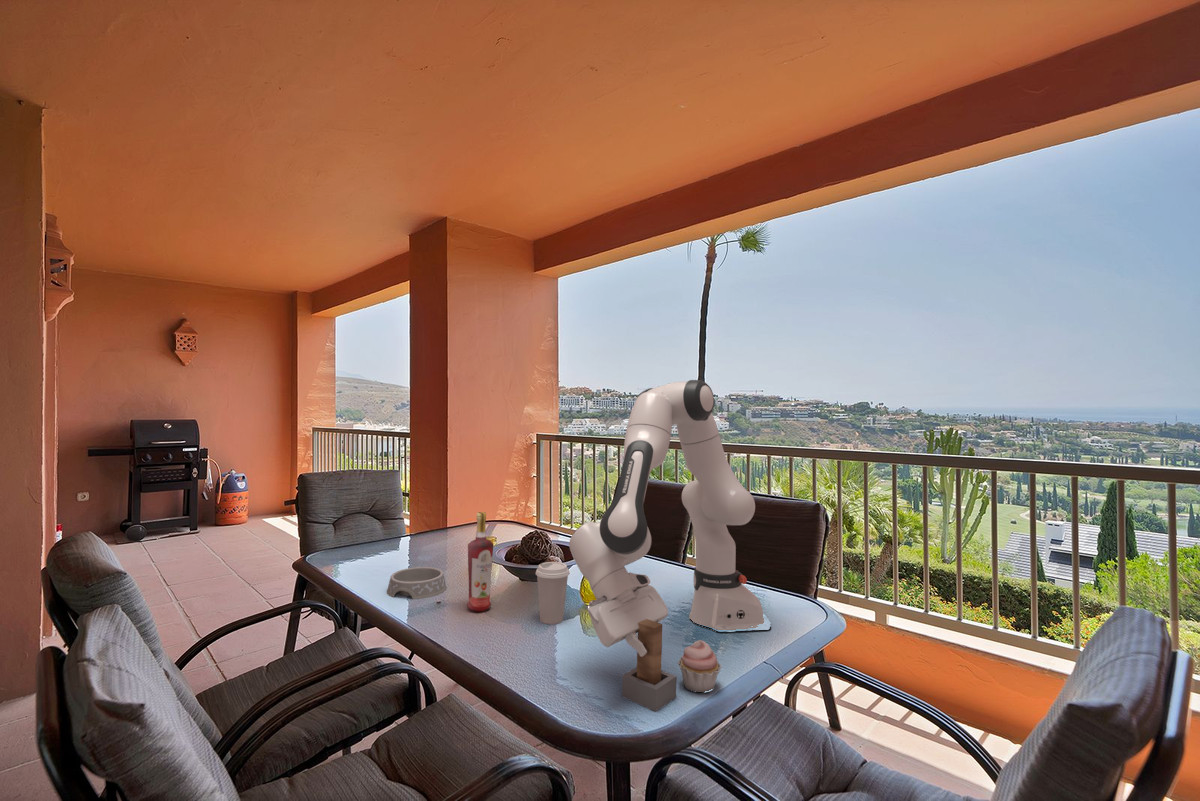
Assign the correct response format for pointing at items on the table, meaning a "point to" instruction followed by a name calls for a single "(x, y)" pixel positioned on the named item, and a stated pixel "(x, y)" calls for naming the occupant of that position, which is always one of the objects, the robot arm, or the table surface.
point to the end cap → (649, 690)
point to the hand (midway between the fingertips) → (652, 650)
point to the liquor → (480, 567)
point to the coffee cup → (552, 591)
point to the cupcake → (699, 667)
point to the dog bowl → (417, 582)
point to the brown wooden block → (650, 651)
